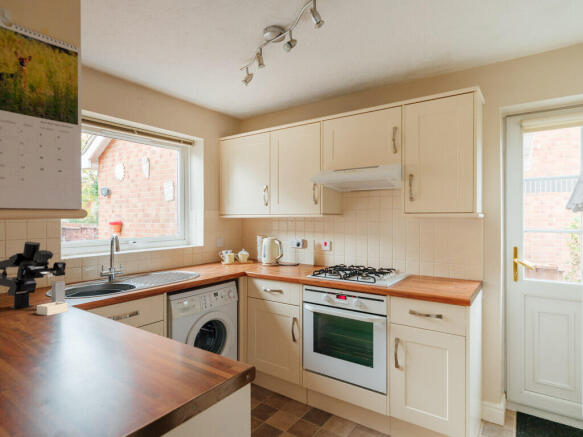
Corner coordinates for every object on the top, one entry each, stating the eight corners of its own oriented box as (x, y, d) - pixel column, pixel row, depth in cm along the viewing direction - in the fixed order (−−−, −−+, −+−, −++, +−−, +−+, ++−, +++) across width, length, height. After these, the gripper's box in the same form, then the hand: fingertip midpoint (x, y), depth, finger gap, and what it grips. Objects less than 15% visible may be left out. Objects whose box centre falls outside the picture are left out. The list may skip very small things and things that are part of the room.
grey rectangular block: (50, 308, 151) (50, 282, 151) (60, 306, 155) (60, 280, 155) (55, 309, 149) (56, 282, 149) (66, 307, 153) (66, 281, 153)
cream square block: (36, 313, 142) (36, 305, 142) (57, 309, 149) (57, 301, 149) (47, 315, 138) (47, 306, 138) (67, 311, 145) (67, 303, 145)
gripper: (12, 249, 144) (34, 258, 138) (57, 248, 162) (78, 256, 156) (8, 274, 145) (29, 284, 139) (52, 270, 162) (73, 279, 156)
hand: (54, 275), depth 147 cm, fingers open, 9 cm apart
